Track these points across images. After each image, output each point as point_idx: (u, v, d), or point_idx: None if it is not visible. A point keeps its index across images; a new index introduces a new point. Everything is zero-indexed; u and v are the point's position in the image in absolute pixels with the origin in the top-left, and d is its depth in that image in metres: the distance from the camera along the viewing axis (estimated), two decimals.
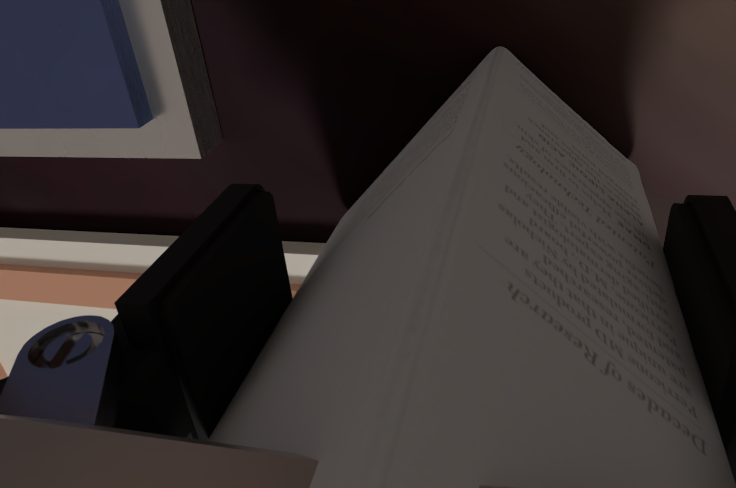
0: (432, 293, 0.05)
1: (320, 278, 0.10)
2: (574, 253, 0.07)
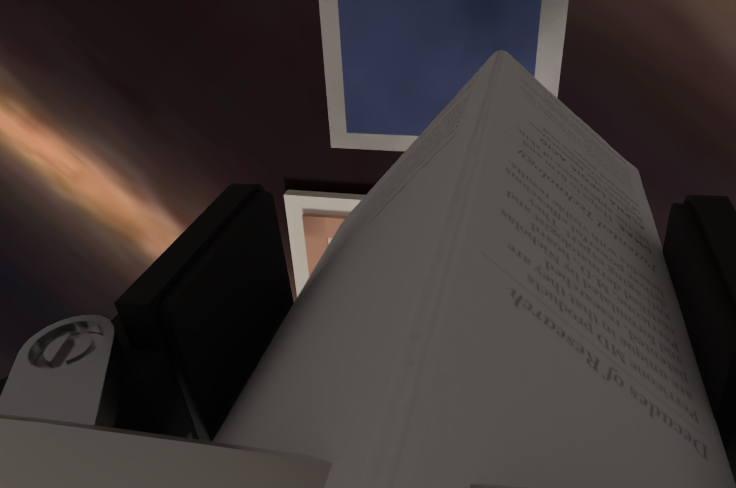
0: (435, 300, 0.05)
1: (322, 282, 0.10)
2: (576, 258, 0.08)
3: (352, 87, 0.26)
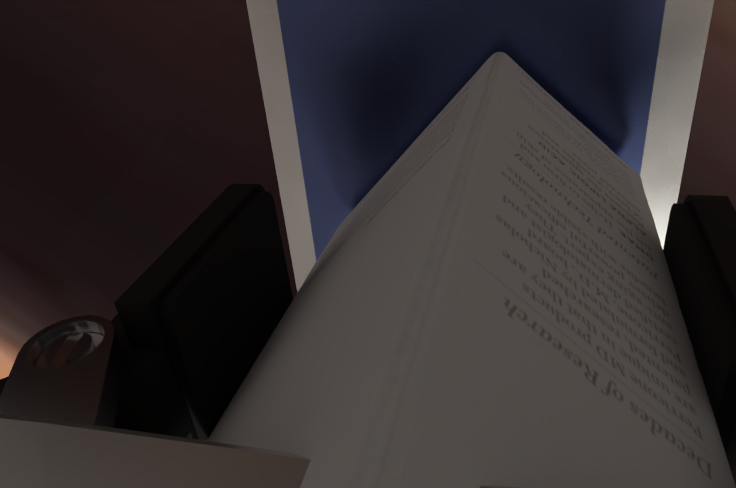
0: (424, 311, 0.05)
1: (315, 288, 0.10)
2: (575, 264, 0.07)
3: None
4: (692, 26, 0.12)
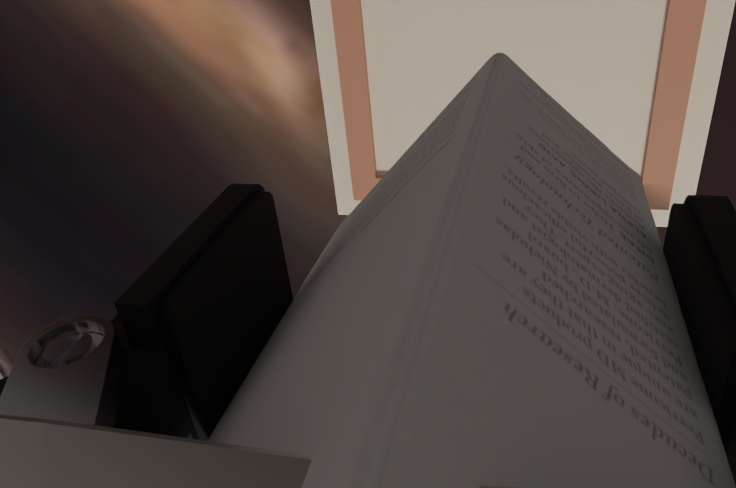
0: (423, 317, 0.05)
1: (314, 290, 0.10)
2: (575, 268, 0.07)
3: None
4: None
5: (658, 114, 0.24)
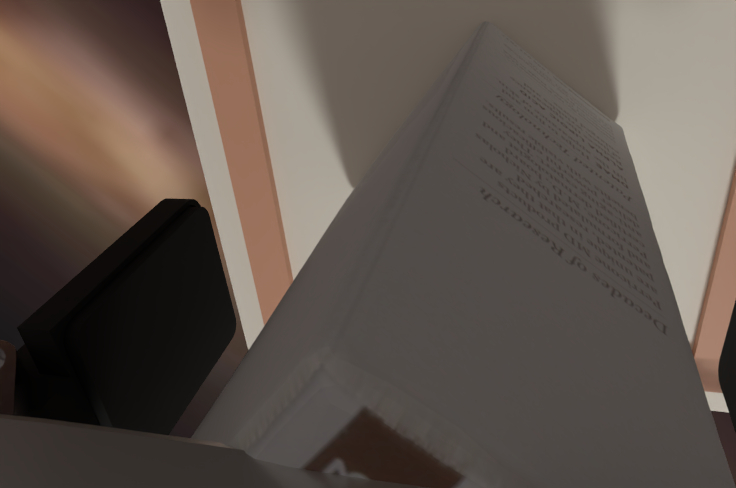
0: (409, 184, 0.06)
1: (327, 234, 0.11)
2: (549, 178, 0.08)
3: None
4: None
5: (726, 264, 0.15)
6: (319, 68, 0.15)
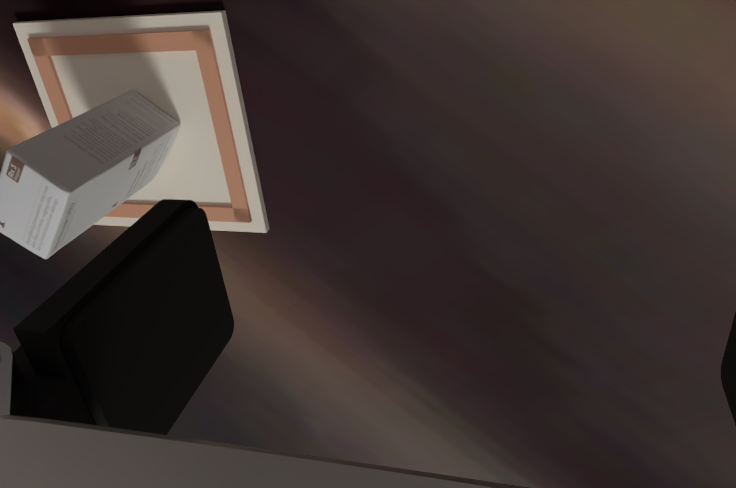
0: (42, 133, 0.35)
1: None
2: (97, 135, 0.37)
3: None
4: None
5: (226, 171, 0.44)
6: (88, 103, 0.44)
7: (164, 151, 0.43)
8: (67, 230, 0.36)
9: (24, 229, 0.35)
